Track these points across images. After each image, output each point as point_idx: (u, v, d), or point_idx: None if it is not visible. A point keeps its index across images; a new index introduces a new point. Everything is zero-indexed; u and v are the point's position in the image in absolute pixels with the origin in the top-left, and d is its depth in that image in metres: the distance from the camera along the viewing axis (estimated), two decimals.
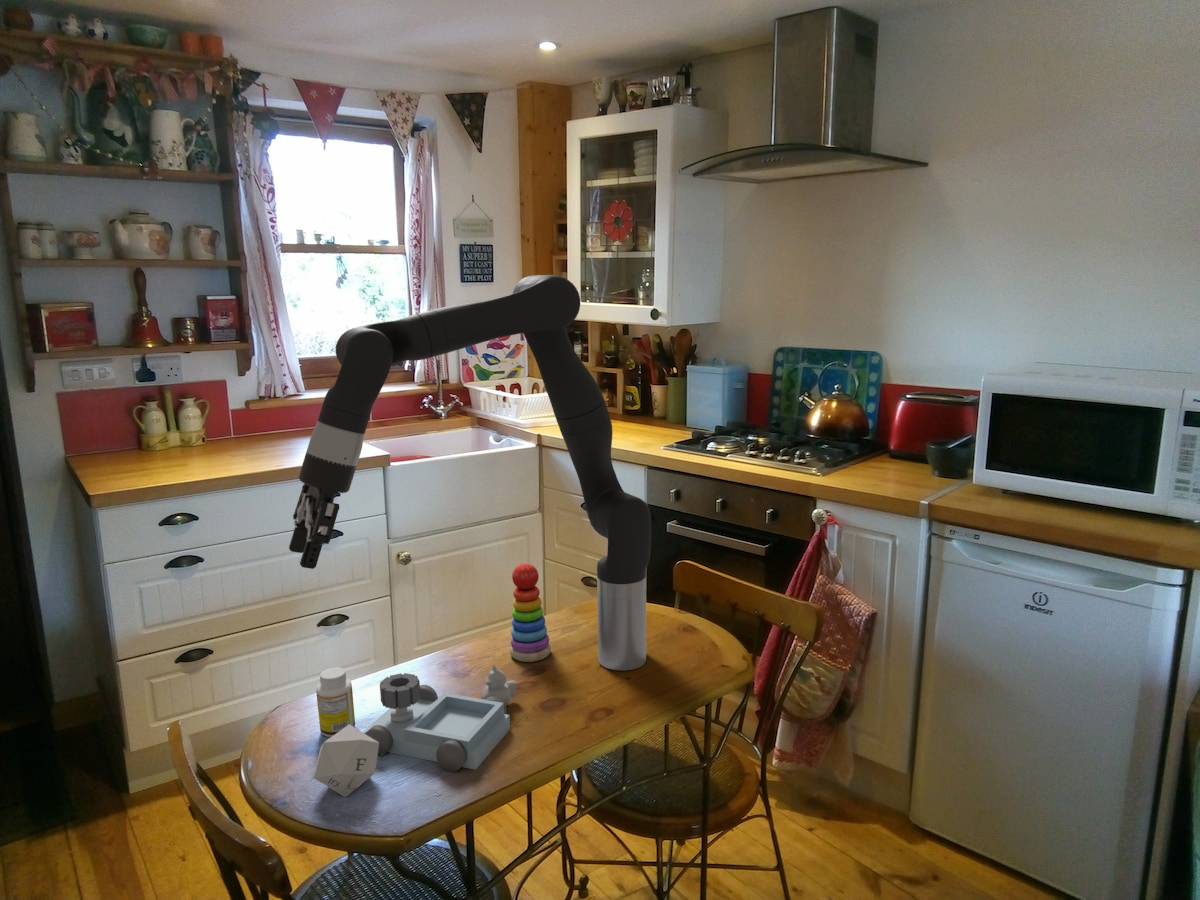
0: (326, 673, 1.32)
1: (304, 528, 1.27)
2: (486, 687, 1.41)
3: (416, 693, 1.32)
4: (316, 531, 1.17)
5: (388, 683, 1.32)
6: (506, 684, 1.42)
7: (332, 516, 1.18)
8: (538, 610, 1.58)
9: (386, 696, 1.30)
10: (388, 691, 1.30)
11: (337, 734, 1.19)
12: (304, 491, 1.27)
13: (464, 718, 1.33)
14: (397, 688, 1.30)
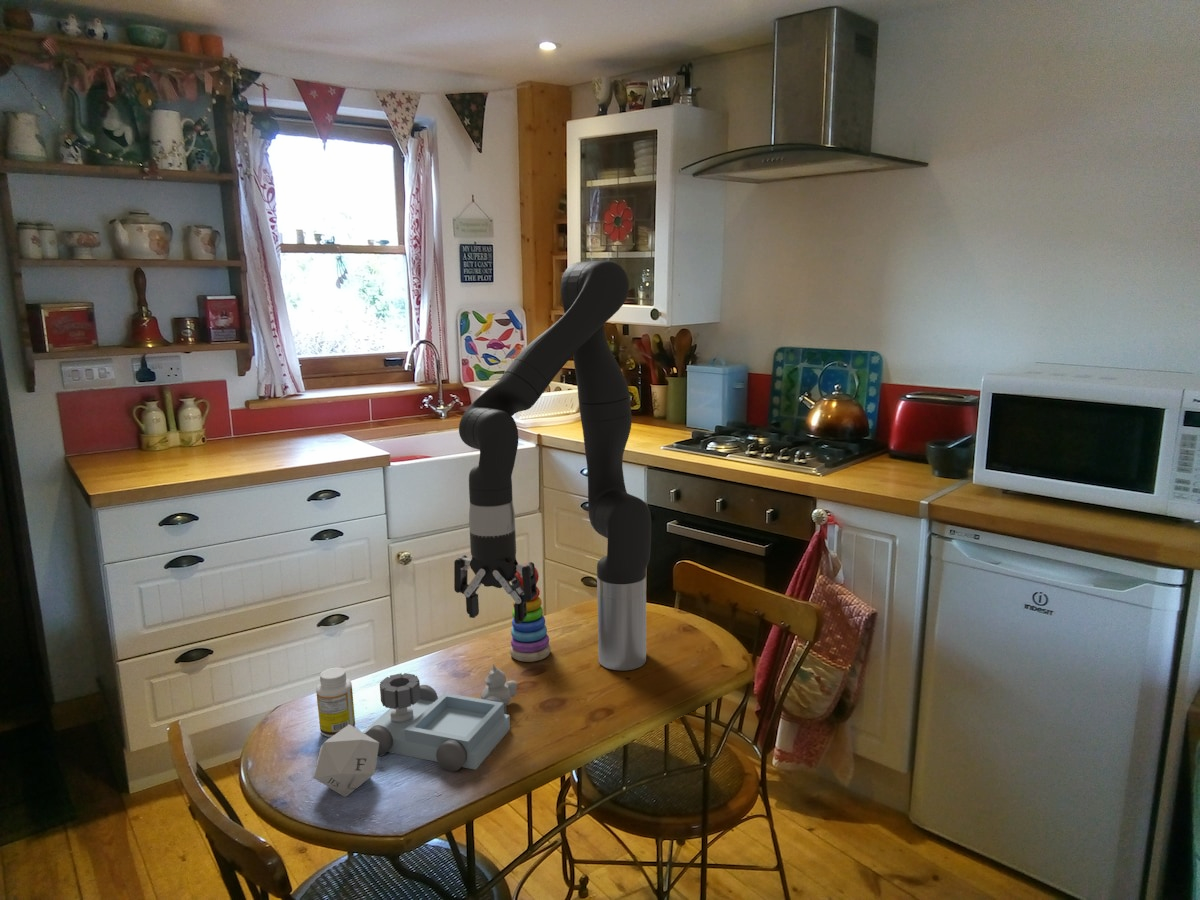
0: (326, 673, 1.32)
1: (474, 594, 1.39)
2: (486, 687, 1.41)
3: (416, 693, 1.32)
4: (531, 592, 1.34)
5: (388, 683, 1.32)
6: (506, 684, 1.42)
7: (533, 574, 1.35)
8: (538, 610, 1.58)
9: (386, 696, 1.30)
10: (388, 691, 1.30)
11: (337, 734, 1.19)
12: (461, 566, 1.38)
13: (464, 718, 1.33)
14: (397, 688, 1.30)
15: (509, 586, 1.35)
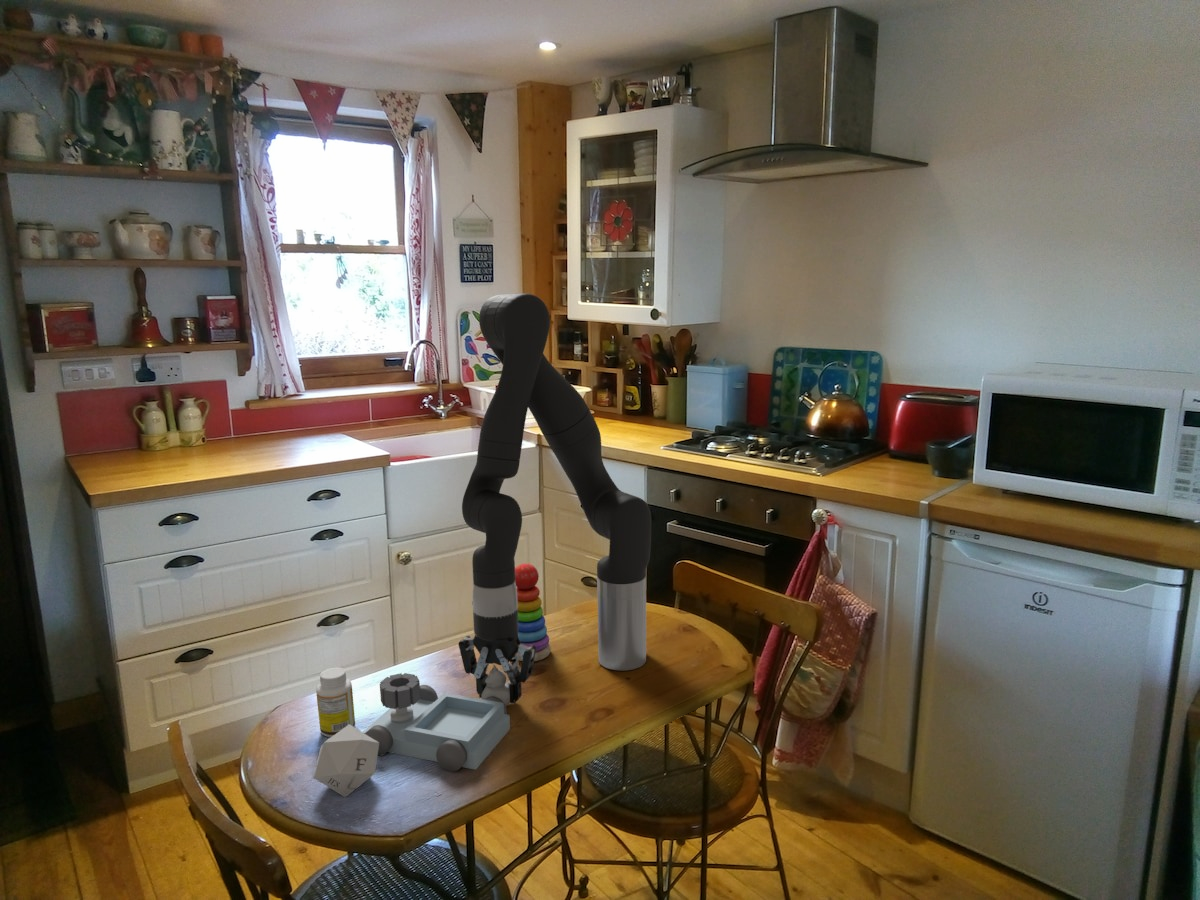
0: (326, 673, 1.32)
1: (484, 675, 1.42)
2: (486, 687, 1.41)
3: (416, 693, 1.32)
4: (527, 674, 1.38)
5: (388, 683, 1.32)
6: (506, 684, 1.42)
7: (533, 657, 1.38)
8: (538, 610, 1.58)
9: (386, 696, 1.30)
10: (388, 691, 1.30)
11: (337, 734, 1.19)
12: (465, 647, 1.41)
13: (464, 718, 1.33)
14: (397, 688, 1.30)
15: (508, 667, 1.38)
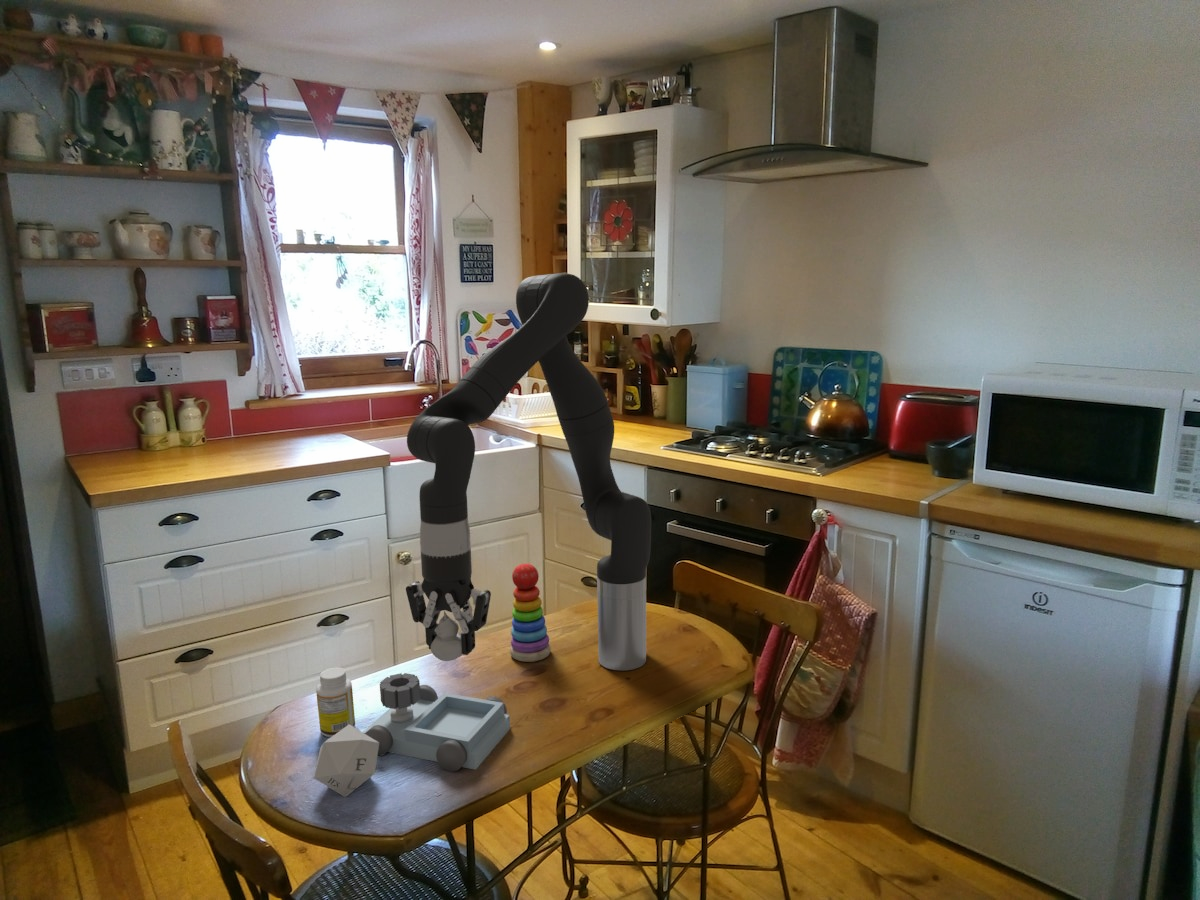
0: (326, 673, 1.32)
1: (434, 624, 1.28)
2: (436, 637, 1.27)
3: (416, 693, 1.32)
4: (480, 622, 1.24)
5: (388, 683, 1.32)
6: (459, 634, 1.28)
7: (487, 603, 1.25)
8: (538, 610, 1.58)
9: (386, 696, 1.30)
10: (388, 691, 1.30)
11: (337, 734, 1.19)
12: (413, 592, 1.27)
13: (464, 718, 1.33)
14: (397, 688, 1.30)
15: (459, 613, 1.24)
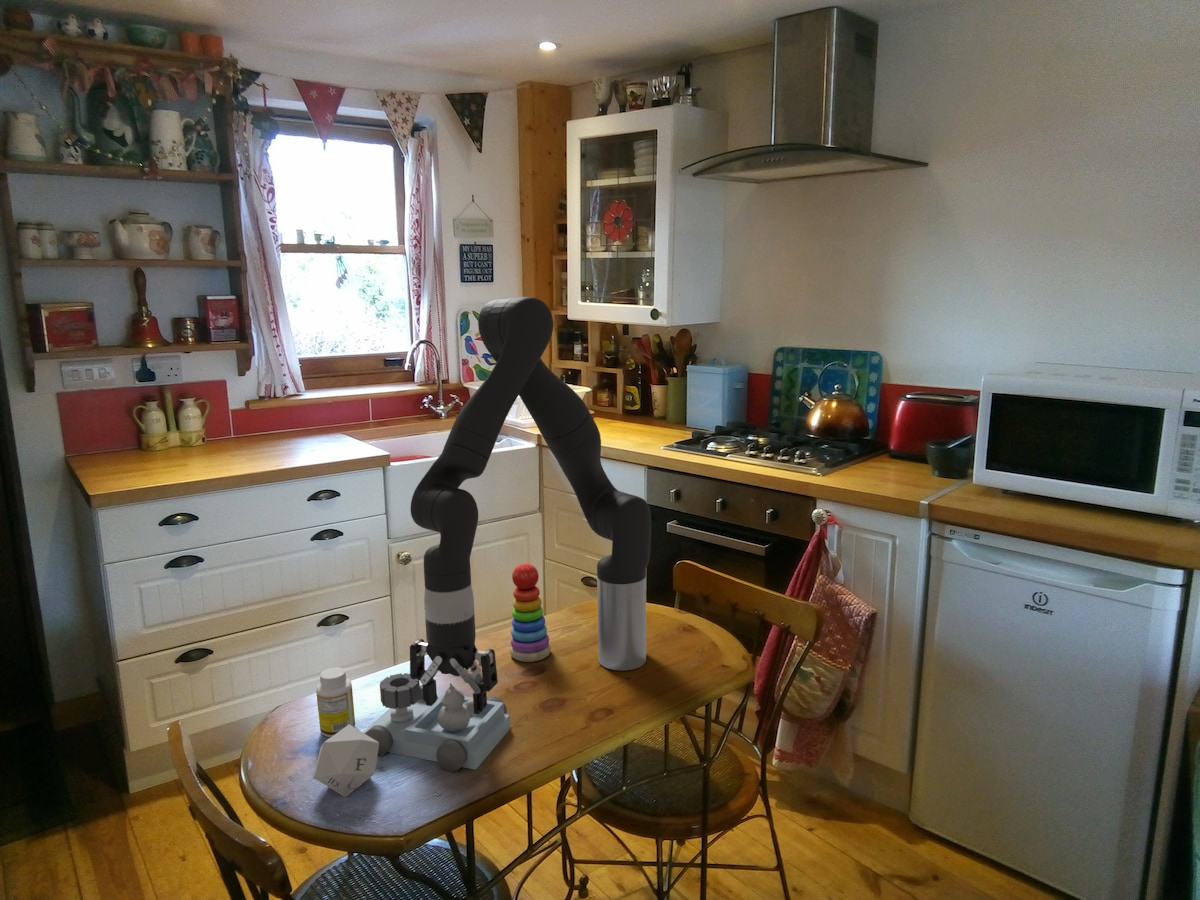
0: (326, 673, 1.32)
1: (432, 681, 1.30)
2: (443, 708, 1.29)
3: (416, 693, 1.32)
4: (490, 681, 1.25)
5: (388, 683, 1.32)
6: (465, 704, 1.30)
7: (493, 661, 1.26)
8: (538, 610, 1.58)
9: (386, 696, 1.30)
10: (388, 691, 1.30)
11: (337, 734, 1.19)
12: (416, 651, 1.29)
13: None
14: (397, 688, 1.30)
15: (467, 675, 1.26)
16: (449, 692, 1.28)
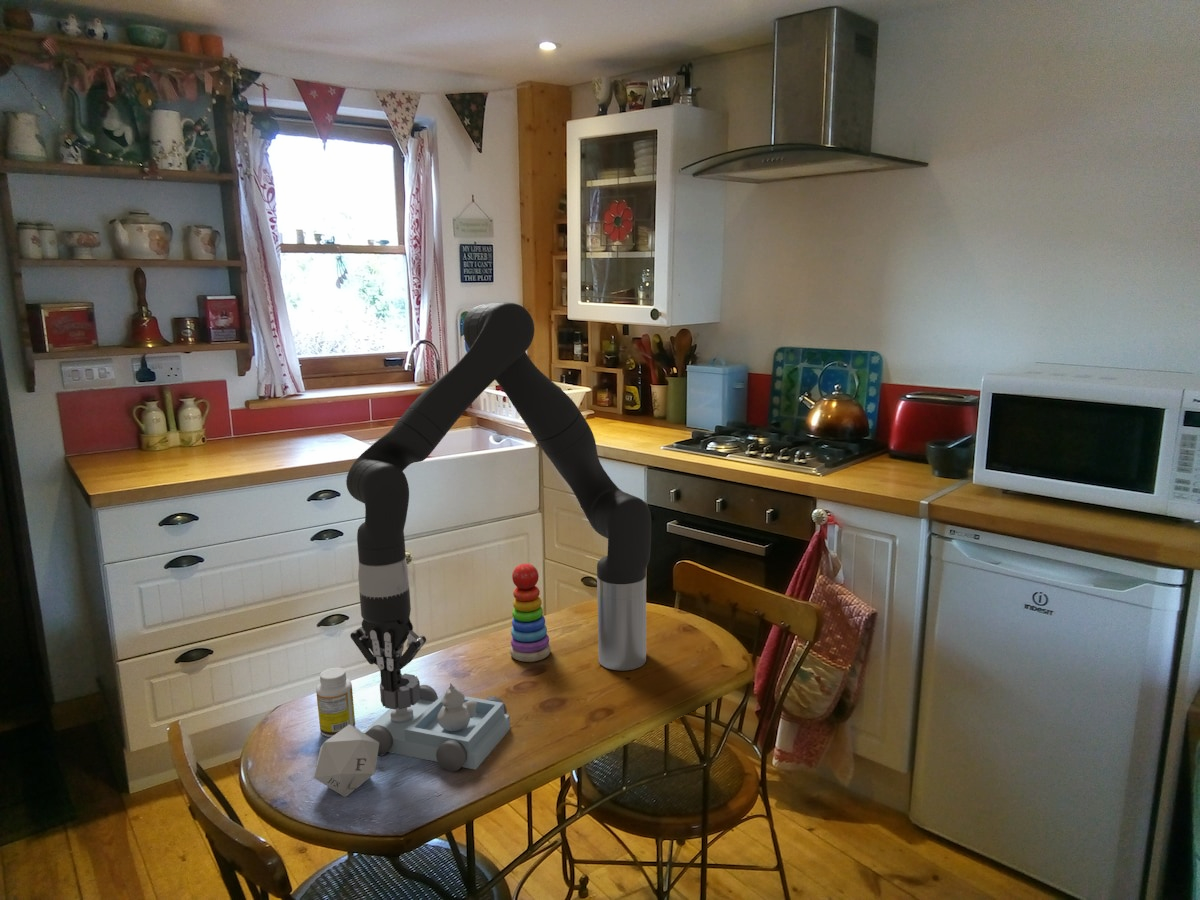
0: (326, 673, 1.32)
1: None
2: (443, 708, 1.29)
3: (416, 694, 1.32)
4: (406, 663, 1.27)
5: None
6: (465, 704, 1.30)
7: (419, 648, 1.28)
8: (538, 610, 1.58)
9: (386, 696, 1.30)
10: (388, 691, 1.30)
11: (337, 734, 1.19)
12: (358, 636, 1.29)
13: None
14: (397, 688, 1.30)
15: (391, 653, 1.27)
16: (449, 692, 1.28)
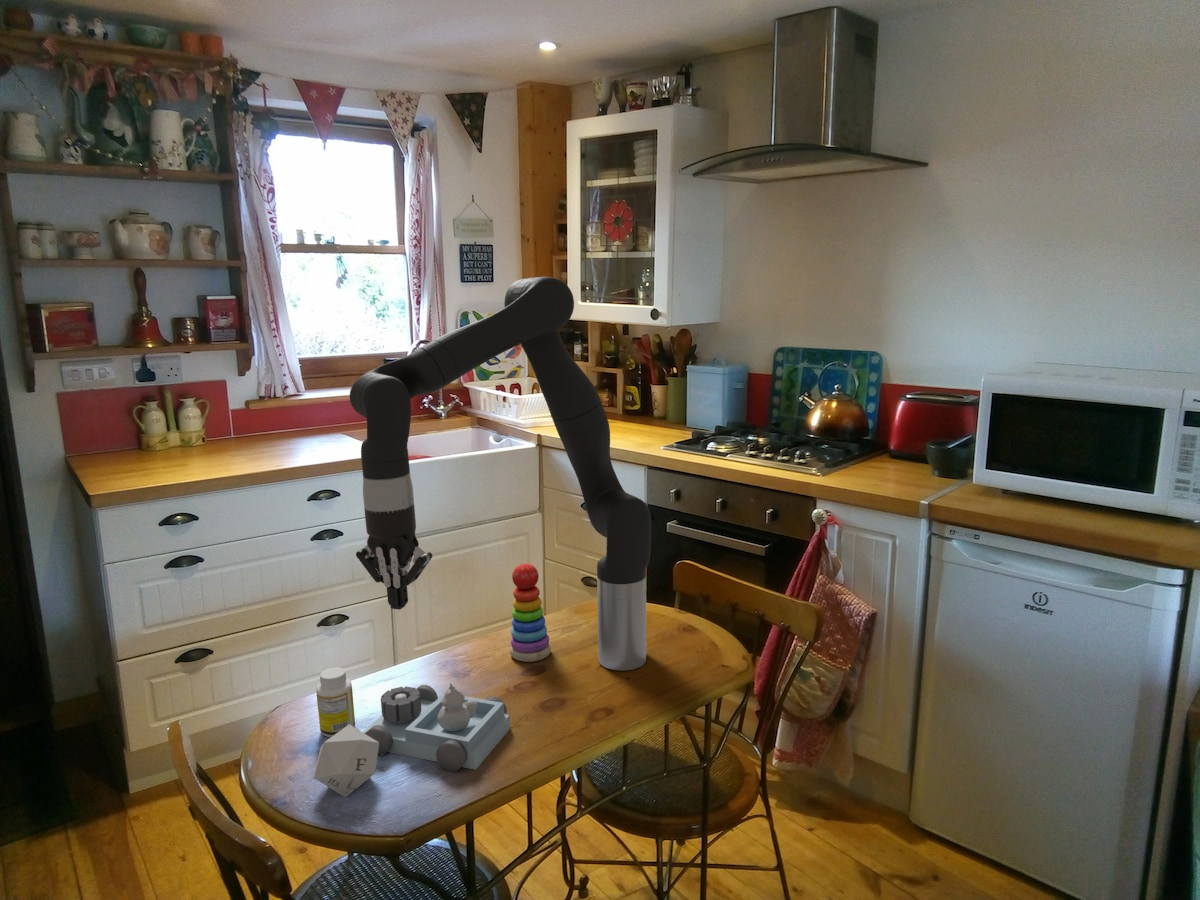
0: (326, 673, 1.32)
1: None
2: (443, 708, 1.29)
3: (417, 707, 1.32)
4: (412, 579, 1.27)
5: (389, 697, 1.32)
6: (465, 704, 1.30)
7: (425, 564, 1.28)
8: (538, 610, 1.58)
9: (387, 710, 1.30)
10: (389, 705, 1.30)
11: (337, 734, 1.19)
12: (364, 555, 1.29)
13: None
14: (398, 702, 1.31)
15: (397, 570, 1.27)
16: (449, 692, 1.28)
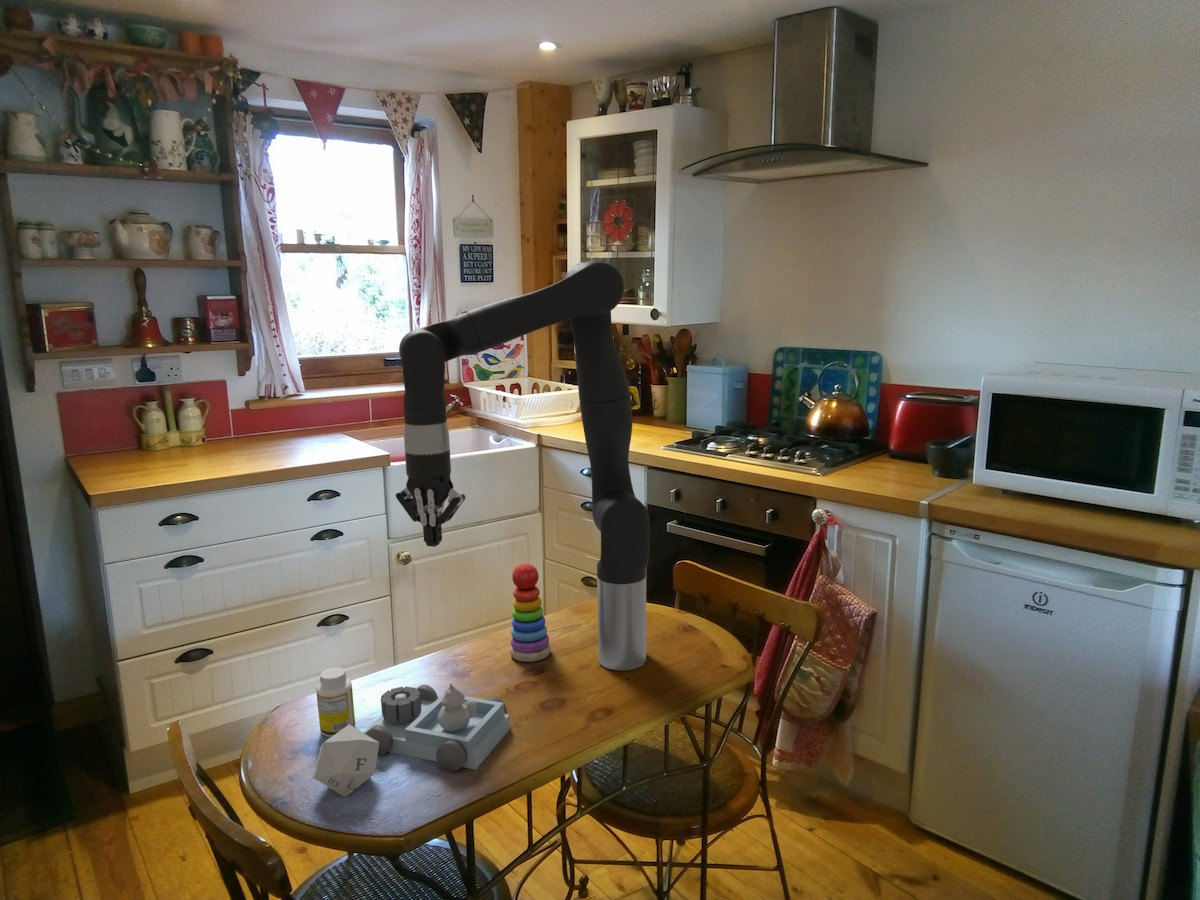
0: (326, 673, 1.32)
1: None
2: (443, 708, 1.29)
3: (417, 707, 1.32)
4: (447, 518, 1.40)
5: (389, 697, 1.32)
6: (465, 704, 1.30)
7: (459, 505, 1.40)
8: (538, 610, 1.58)
9: (387, 710, 1.30)
10: (389, 705, 1.30)
11: (337, 734, 1.19)
12: (403, 496, 1.42)
13: None
14: (398, 702, 1.31)
15: (433, 509, 1.39)
16: (449, 692, 1.28)
